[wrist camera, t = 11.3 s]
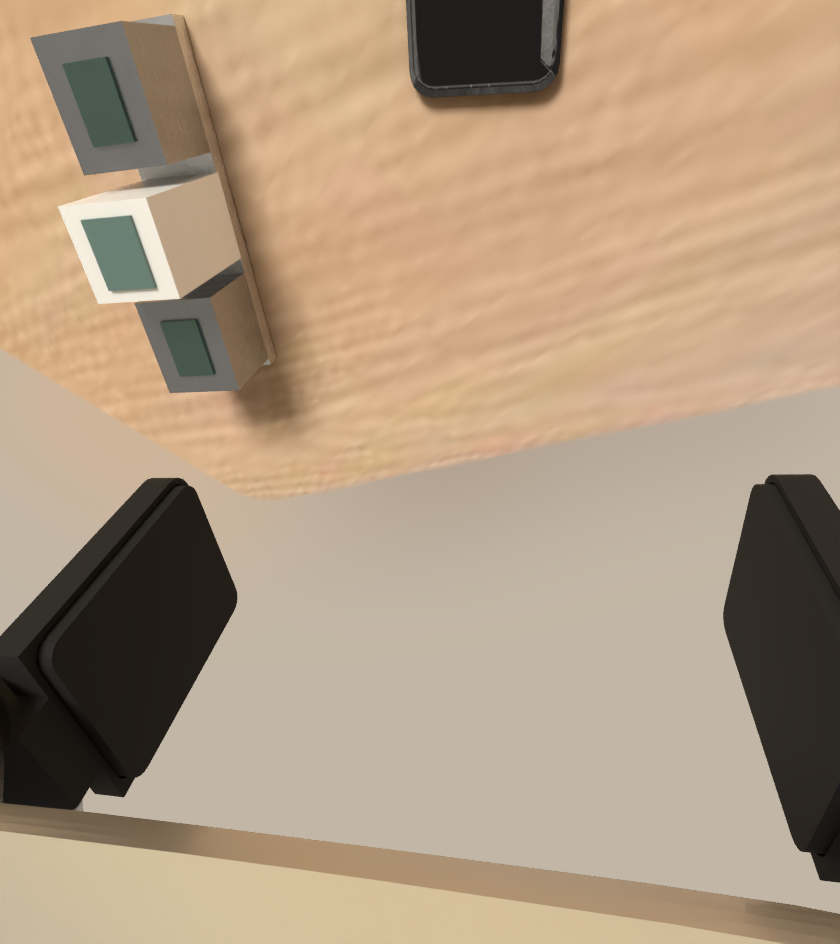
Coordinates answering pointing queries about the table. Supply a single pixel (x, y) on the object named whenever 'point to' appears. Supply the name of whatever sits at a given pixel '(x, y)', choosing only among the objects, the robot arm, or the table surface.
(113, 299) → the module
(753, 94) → the table surface
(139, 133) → the rail
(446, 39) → the phone
